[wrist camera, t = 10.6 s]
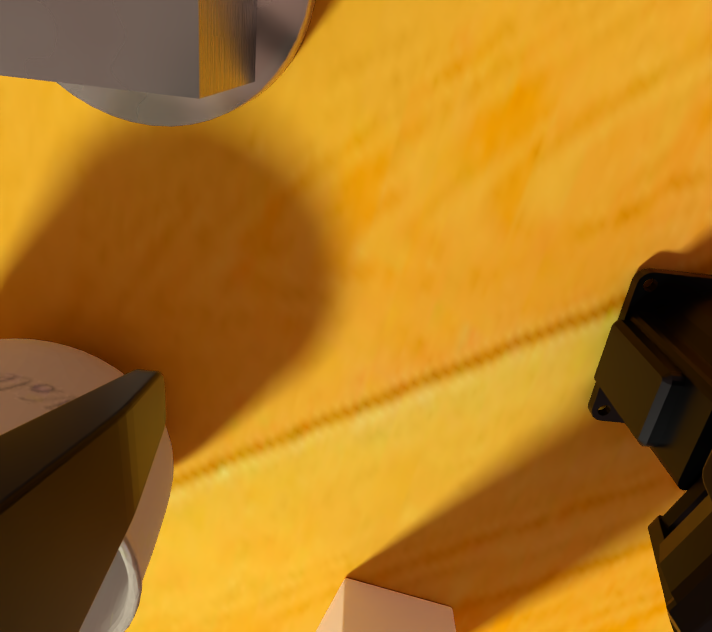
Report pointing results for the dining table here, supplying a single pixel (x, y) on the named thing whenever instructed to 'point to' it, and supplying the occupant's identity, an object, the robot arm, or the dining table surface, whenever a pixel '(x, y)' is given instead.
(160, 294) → the dining table surface
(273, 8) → the pan with red handle
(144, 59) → the matte grey cube
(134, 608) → the teacup
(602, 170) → the dining table surface
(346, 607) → the milk
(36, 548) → the robot arm
